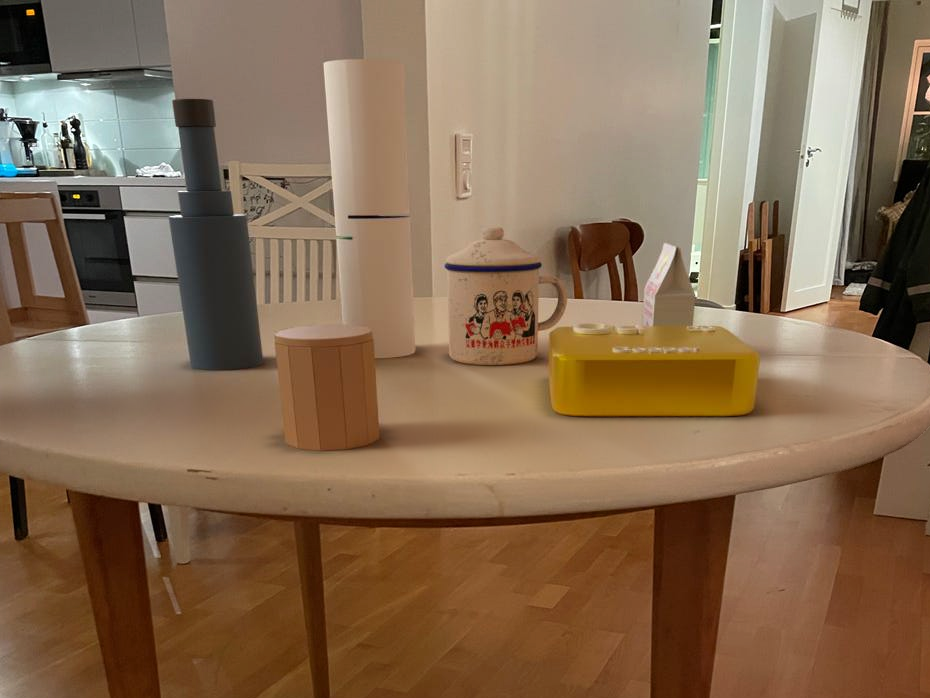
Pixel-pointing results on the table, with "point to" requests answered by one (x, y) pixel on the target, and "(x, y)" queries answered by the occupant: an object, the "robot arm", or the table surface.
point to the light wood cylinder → (327, 386)
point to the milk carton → (668, 292)
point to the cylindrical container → (372, 199)
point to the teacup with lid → (496, 302)
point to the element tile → (651, 371)
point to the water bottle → (212, 253)
